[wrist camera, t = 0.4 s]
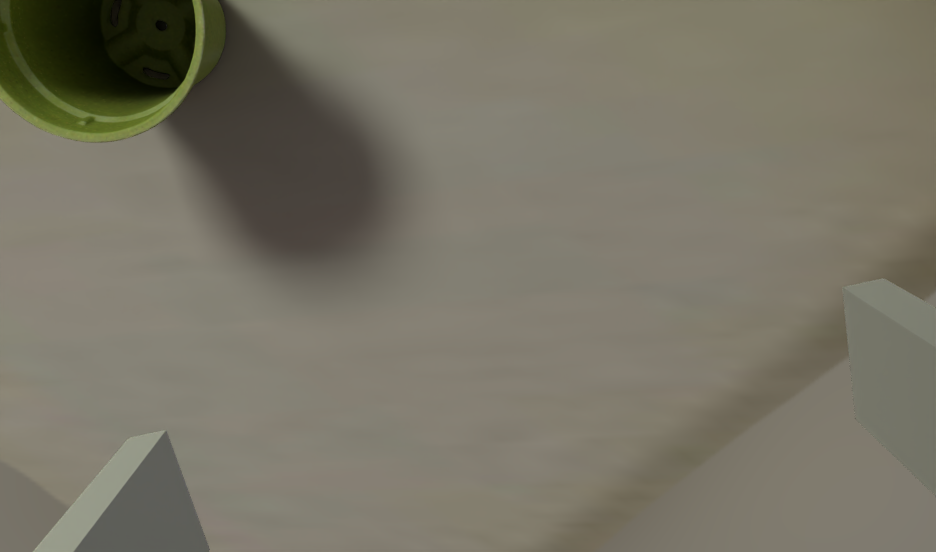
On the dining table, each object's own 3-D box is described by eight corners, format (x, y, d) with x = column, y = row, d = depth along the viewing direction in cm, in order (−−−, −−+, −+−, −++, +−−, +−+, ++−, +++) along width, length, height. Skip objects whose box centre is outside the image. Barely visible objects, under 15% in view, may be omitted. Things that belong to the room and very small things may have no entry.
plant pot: (56, 98, 40) (-52, 111, 32) (76, -102, 38) (-35, -145, 29) (242, 142, 41) (185, 167, 32) (274, -52, 38) (221, -80, 30)
